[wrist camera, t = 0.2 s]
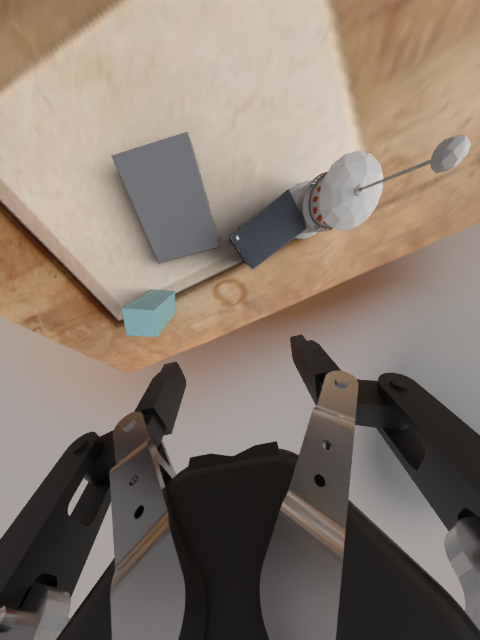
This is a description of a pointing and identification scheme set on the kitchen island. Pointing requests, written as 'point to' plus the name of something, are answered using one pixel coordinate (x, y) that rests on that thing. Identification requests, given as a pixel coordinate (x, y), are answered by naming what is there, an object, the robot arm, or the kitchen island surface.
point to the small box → (269, 230)
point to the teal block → (149, 313)
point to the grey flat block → (169, 197)
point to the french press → (359, 187)
